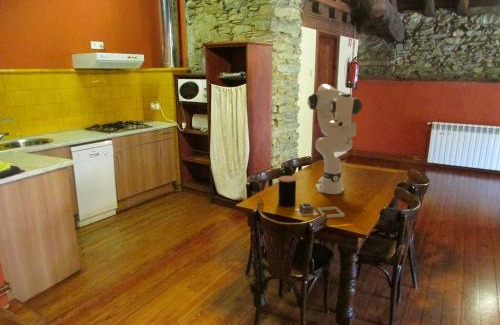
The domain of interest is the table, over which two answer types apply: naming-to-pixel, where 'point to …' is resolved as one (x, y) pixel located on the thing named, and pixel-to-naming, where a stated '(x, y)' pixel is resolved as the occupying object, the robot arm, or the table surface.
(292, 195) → the coffee jar
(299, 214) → the stake
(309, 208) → the brown square block
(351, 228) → the table surface
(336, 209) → the grey square frame
